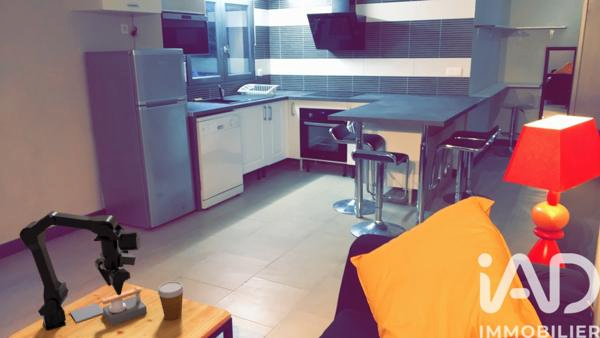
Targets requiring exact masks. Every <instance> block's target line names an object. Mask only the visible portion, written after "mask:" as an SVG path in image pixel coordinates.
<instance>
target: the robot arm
mask: <svg viewBox="0 0 600 338" xmlns="http://www.w3.org/2000/svg"><path fill="white" fill-rule="evenodd" d="M51 226H58V227H65V228H71V229H72V228H73V229H78V230H79V229H80V230H86V231H89V232H91V233H93V234H94V235H96V237H94V239H93V242H100V243H99V244H100V249H101V253H99V257H98V258H96V259H95V261H94V267H95V268H96V269H97V271H98V273H99V275H101V277H102V278H103V280H104V281H105V283H106V284H107V286H108V287H110V286H112V288H113V290H114V291H115V293H116V294H117V295H121V293H122V292H123V287H124V283H125V282H126V281H128V280H130V279H131V273H130V271H129V270H128V269H125V268H124V265H126V266H127V265H128V266H135V264H136V263H135V262H136V259H137V256H136V255H135V254H133V253H131V252H129V251H139V250H140V247H141V237H140V235H139V233H138V232H139V231H138V230H132V231H125V229H124V227H122V225H120V224H119V223H118V220H117V218H115V216H114V215H110V214H109V215H106V214H104V215H102V214H101V215H95V216H88V215H87V216H86V215H80V214H72V213H64V212H59V211H55V210H52V211H50V212H48V214H46V215H45V216H43V217H42V218H41V219H39V220H37V221H36V220H35V221H31V222H30V223H28V224H27V225H25V226H24V228H22V229H21V230H20V232H19V239H20V240H21V242H22V244H23V245H24V246H25V248H27V249H28V250H29V251H30V252H31V255H32V257H33V261H34V263H35V266H36V268H37V272H38V274H39V277H40V280H41V282H42V286H43V292H42V293H43V294H42V299H43V304H42V305H41V307H40V308H39V309H38V314H39V316H41V317H42V320H43V321H42V325H43V327H44V329H45V331H46V332H48V331H51V330H55V329H57V328H59V327H63V326H65V325H66V324H67V323H66V321H67V319H66V311H65V309H64V308H63V307H62V305H63V303H64V302H65V301H66V299H67V297H68V293H69V289H68V287H67V283H66V281H65V282H60V280H59V279H58V277H57V275H56V271H55V268H54V266H53V263H52V260H51V258H50V257H51V256H50V254H49V251H48V248H47V245H46V239H47V233H46V232H47V231H46V230H47V229H49V228H50V227H51ZM119 250H120V251H119Z"/></svg>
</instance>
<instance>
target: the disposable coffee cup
mask: <svg viewBox="0 0 600 338" xmlns="http://www.w3.org/2000/svg"><path fill="white" fill-rule="evenodd" d="M184 289H185V287H184V285H183V283H182V282H180V281H176V280H174V281H172V280H171V281H166V282H164V283H161V284H160V285H159V287H158V289H157V294H158V296H159V300H160V303H161V308H162V311H163V312H162V313H163V316H164V318H165V319H166V320H168V321H170V320H171V321H174V320H177V319H179V318H180V317H182V313H183V311H182V310H183V298H184V297H183V294H184V291H185V290H184Z"/></svg>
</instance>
